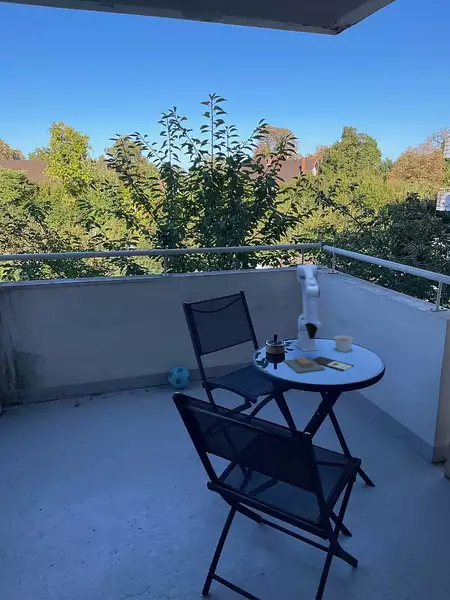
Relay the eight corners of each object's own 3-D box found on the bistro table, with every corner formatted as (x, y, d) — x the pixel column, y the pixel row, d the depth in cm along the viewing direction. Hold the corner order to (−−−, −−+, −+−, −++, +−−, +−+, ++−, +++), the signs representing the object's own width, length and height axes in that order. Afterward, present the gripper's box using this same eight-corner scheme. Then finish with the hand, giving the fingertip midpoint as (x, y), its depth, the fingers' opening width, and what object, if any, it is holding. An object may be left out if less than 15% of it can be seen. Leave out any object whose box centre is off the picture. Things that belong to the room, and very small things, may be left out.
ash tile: (294, 358, 194) (302, 364, 187) (304, 357, 196) (312, 363, 188) (294, 362, 195) (302, 368, 187) (304, 361, 196) (312, 366, 188)
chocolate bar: (319, 356, 202) (353, 365, 190) (319, 358, 203) (353, 367, 190) (308, 360, 196) (342, 370, 184) (308, 362, 197) (342, 372, 184)
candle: (339, 346, 219) (339, 334, 217) (355, 349, 213) (356, 337, 212) (331, 350, 212) (331, 338, 211) (347, 354, 206) (348, 341, 205)
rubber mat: (283, 361, 197) (283, 360, 197) (308, 358, 201) (308, 357, 201) (298, 373, 182) (298, 372, 182) (324, 370, 186) (325, 368, 186)
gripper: (297, 308, 202) (297, 335, 205) (311, 314, 189) (311, 343, 191) (311, 307, 204) (310, 333, 207) (325, 313, 191) (325, 342, 193)
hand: (311, 338), depth 199 cm, fingers closed
